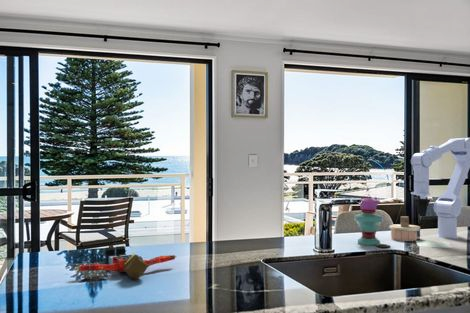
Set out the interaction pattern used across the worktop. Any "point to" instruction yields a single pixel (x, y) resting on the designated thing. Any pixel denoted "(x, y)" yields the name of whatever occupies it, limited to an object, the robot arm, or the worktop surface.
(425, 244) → the mat
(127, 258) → the toy
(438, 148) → the robot arm
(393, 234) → the bowl
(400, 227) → the lid
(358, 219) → the toy
